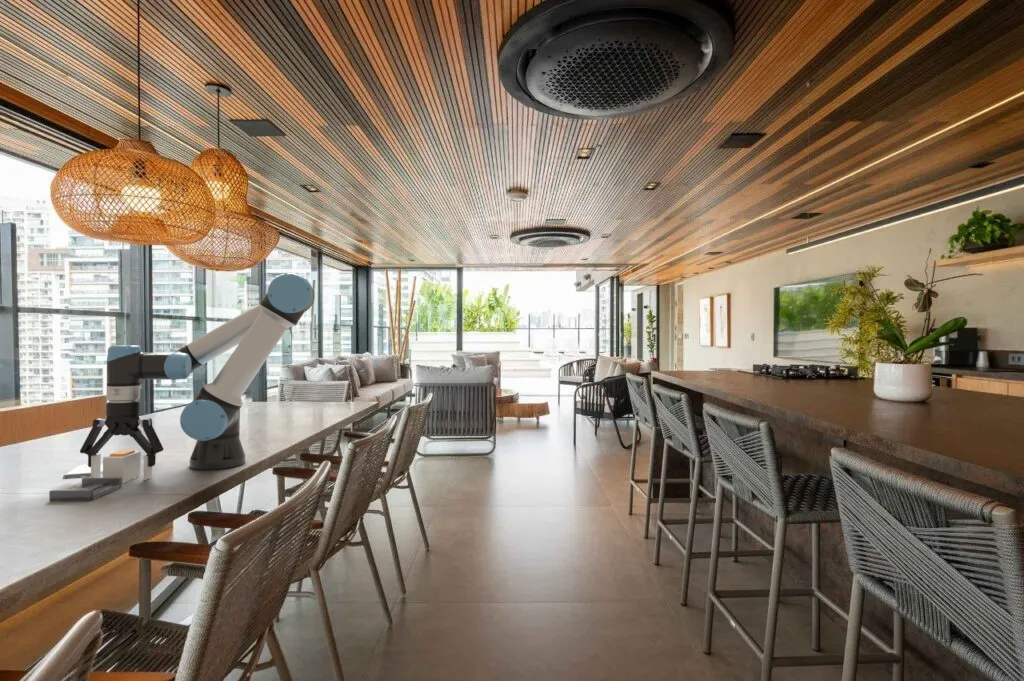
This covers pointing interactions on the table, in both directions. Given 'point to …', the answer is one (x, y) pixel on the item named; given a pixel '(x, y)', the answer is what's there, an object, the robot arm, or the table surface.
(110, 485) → the dark grey tray
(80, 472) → the external hard drive
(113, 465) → the block
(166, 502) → the table surface
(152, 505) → the table surface
